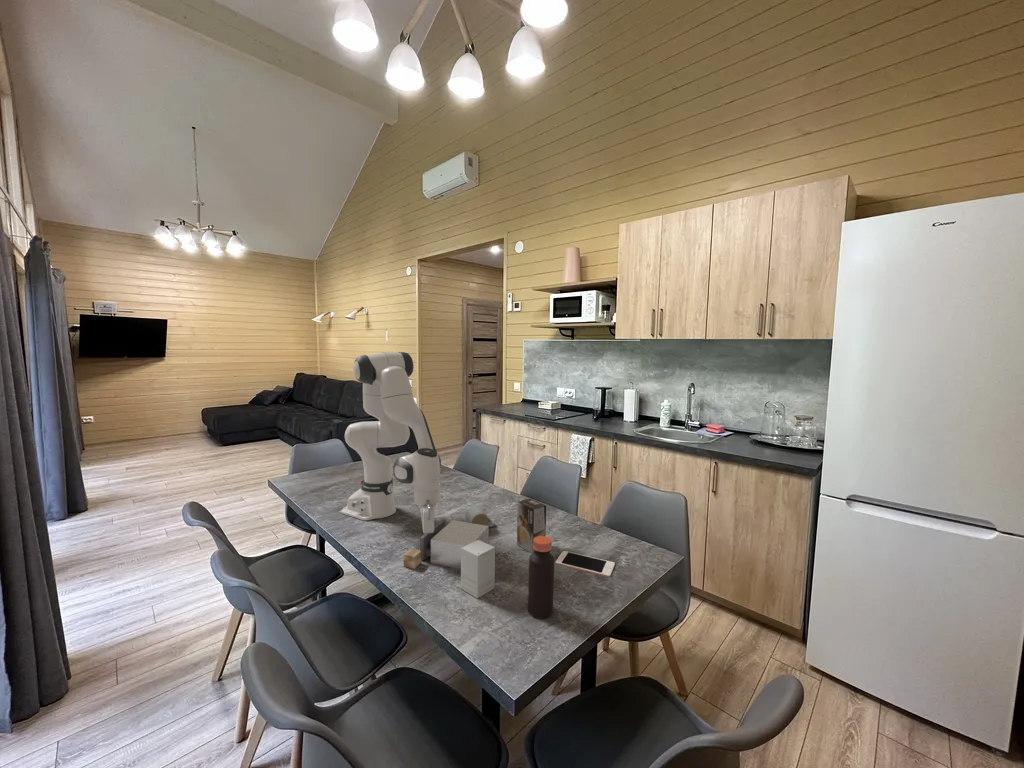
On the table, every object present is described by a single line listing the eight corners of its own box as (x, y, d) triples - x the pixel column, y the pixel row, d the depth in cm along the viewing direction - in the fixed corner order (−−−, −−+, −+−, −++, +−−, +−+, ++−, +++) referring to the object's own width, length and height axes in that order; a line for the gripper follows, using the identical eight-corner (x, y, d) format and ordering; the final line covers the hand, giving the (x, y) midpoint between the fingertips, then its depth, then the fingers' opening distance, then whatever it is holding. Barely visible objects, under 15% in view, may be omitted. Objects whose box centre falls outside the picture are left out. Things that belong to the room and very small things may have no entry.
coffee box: (546, 549, 146) (547, 505, 145) (533, 554, 142) (534, 509, 140) (528, 539, 153) (529, 497, 152) (515, 544, 149) (516, 501, 147)
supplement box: (495, 588, 122) (496, 547, 121) (477, 599, 116) (477, 556, 115) (478, 578, 127) (478, 538, 126) (459, 588, 121) (460, 547, 120)
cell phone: (609, 578, 129) (609, 575, 129) (555, 564, 136) (555, 562, 136) (615, 565, 137) (615, 562, 137) (563, 552, 144) (563, 550, 144)
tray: (417, 559, 137) (417, 537, 136) (440, 538, 152) (440, 518, 151) (458, 567, 132) (458, 544, 131) (477, 545, 147) (478, 524, 147)
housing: (430, 562, 135) (430, 539, 134) (452, 541, 150) (452, 520, 150) (470, 570, 131) (470, 546, 130) (488, 547, 146) (488, 526, 145)
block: (403, 566, 133) (403, 554, 132) (410, 560, 136) (410, 548, 136) (414, 568, 131) (414, 556, 131) (421, 562, 135) (421, 550, 135)
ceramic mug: (471, 533, 157) (472, 513, 157) (464, 524, 165) (465, 506, 164) (497, 529, 162) (497, 510, 161) (489, 521, 169) (490, 502, 168)
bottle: (538, 622, 107) (540, 548, 105) (522, 609, 112) (524, 538, 111) (558, 613, 111) (560, 541, 109) (541, 600, 116) (543, 532, 114)
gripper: (438, 506, 133) (438, 547, 135) (433, 485, 153) (433, 521, 154) (418, 507, 132) (418, 549, 133) (416, 487, 151) (416, 523, 153)
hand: (426, 534), depth 144 cm, fingers closed
